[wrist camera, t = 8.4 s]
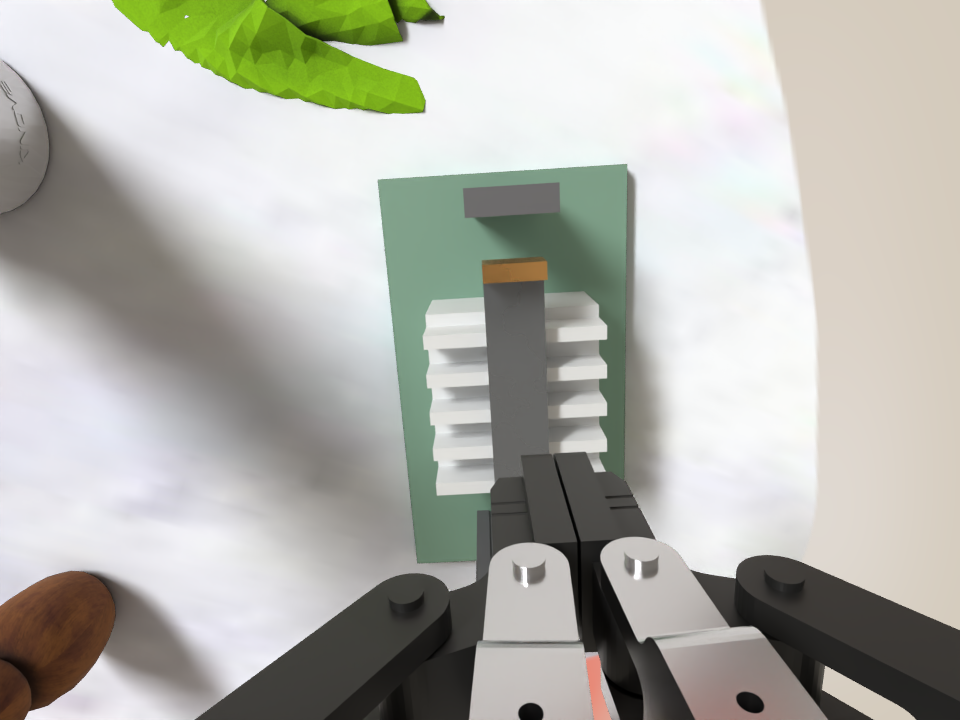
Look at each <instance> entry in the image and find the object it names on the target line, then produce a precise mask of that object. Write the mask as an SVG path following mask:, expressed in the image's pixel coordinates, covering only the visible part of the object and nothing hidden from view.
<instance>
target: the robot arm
mask: <svg viewBox="0 0 960 720" xmlns="http://www.w3.org/2000/svg"><path fill="white" fill-rule="evenodd" d="M48 160H49V139H48V132H47V126H46V123H45V120H44V117H43V114H42V111H41V109H40V106H39V105H38V103H37V101H36V99H35V98H34V96H33V94H32V92H31V90H30V89H29V88H28V87H27V85H26V84H25V83H24V82H23V80H22V79H21V78H20V77H19V75H18V74H17V73H16V72H15V71H13V70H12V69H11V68H10V67H9V66H8V65H7V64H5V63H4V62H3V61H2V60H0V214H1V213H4V212H8V211H11V210H13V209H15V208H17V207H18V206H20V205H22V204H24V203H25V202H26V201H27V200H28V199H29V198H30V197H31V196H32V195H33V194H34V193H35V192H36V191H37V189H38V187H39V186H40V184H41V182H42V180H43V179H44V176H45V172H46V169H47V165H48ZM520 474H521V477H505V478H498V480H497V481H496V483H495V484H494V485H493V487H492V488H491V489H490V496H491V518H492V541H493V558H492V560H491V562H490V565H489V571H488V572H487V573H486V575H485V576H483V577H482V578H481V579H480V580H478V581H477V582H475V583H473V584H471V585H469V586H466V587H463V588H460V589H457V590H454V591H450V592H449V591H448V589H447V587H446V586H445V584H444V583H443V582H442V581H440V580H439V579H437V578H435V577H433V576H430V575H426V574H417V573H415V574H403V575H399V576H395V577H393V578H390V579H388V580H386V581H384V582H382V583H380V584H379V585H377V586H376V587H375V588H373V589H372V590H371V591H369V592H368V593H366V594H365V595H364V596H362V597H361V598H360V599H358V600H357V601H356V602H354V603H353V604H352V605H350V606H349V607H347V608H346V609H345V610H343V611H342V612H341V613H339V614H338V615H337V616H335V617H334V618H332V619H331V620H330V621H328V622H327V623H326V624H324V625H323V626H322V627H320V628H319V629H318V630H316V631H315V632H313V633H312V634H311V635H309V636H308V637H307V638H305V639H304V640H303V641H301V642H300V643H298V644H297V645H296V646H294V647H293V648H292V649H290V650H289V651H288V652H286V653H285V654H284V655H282V656H281V657H279V658H278V659H277V660H275V661H274V662H273V663H271V664H270V665H269V666H267V667H266V668H265V669H263V670H262V671H260V672H259V673H258V674H256V675H255V676H254V677H252V678H251V679H250V680H248V681H247V682H245V683H244V684H243V685H241V686H240V687H239V688H237V689H236V690H235V691H233V692H232V693H231V694H229V695H228V696H226V697H225V698H224V699H222V700H221V701H220V702H218V703H217V704H216V705H214V706H213V707H211V708H210V709H209V710H207V711H206V712H205V713H203V714H202V715H201V716H199V717H198V718H197V719H195V720H594V718H593V710H592V703H591V696H590V688H589V682H588V674H587V667H586V659H585V652H598V654H599V658H600V661H601V689H602V693H603V696H604V699H605V702H606V705H607V708H608V711H609V714H610V717H611V719H612V720H873V719H871V718H870V717H868V716H866V715H864V714H863V713H861V712H859V711H858V710H856V709H854V708H852V707H851V706H849V705H847V704H845V703H844V702H842V701H840V700H838V699H837V698H835V697H833V696H832V695H830V694H828V693H826V692H825V691H823V690H822V684H823V677H824V669H825V666H827V667H829V668H831V669H833V670H835V671H837V672H838V673H840V674H842V675H844V676H846V677H847V678H849V679H851V680H853V681H855V682H857V683H859V684H861V685H862V686H864V687H866V688H868V689H870V690H871V691H873V692H875V693H877V694H879V695H881V696H882V697H884V698H886V699H888V700H890V701H892V702H894V703H895V704H897V705H899V706H900V707H902V708H904V709H905V710H906V711H908V712H909V713H910V714H911V715H912V716H914V717H915V719H916V720H960V630H958V629H955V628H952V627H951V626H948V625H946V624H943V623H941V622H939V621H937V620H934V619H932V618H930V617H927V616H925V615H923V614H920V613H918V612H916V611H913V610H911V609H909V608H906V607H904V606H902V605H899V604H897V603H895V602H893V601H890V600H888V599H886V598H883V597H881V596H878V595H876V594H874V593H871V592H869V591H867V590H865V589H862V588H860V587H858V586H855V585H853V584H850V583H848V582H846V581H843V580H841V579H839V578H837V577H834V576H832V575H830V574H827V573H825V572H823V571H820V570H818V569H815V568H813V567H811V566H809V565H806V564H804V563H802V562H799V561H796V560H793V559H790V558H786V557H781V556H773V555H761V556H754V557H750V558H748V559H745V560H744V561H742V562H741V563H740V564H739V565H738V567H737V571H736V579H734V578H728V577H721V576H715V575H709V574H704V573H699V572H696V571H692V570H690V569H689V568H688V566H687V565H686V563H685V562H684V561H683V559H682V558H681V556H680V555H679V554H678V553H677V552H676V551H675V550H674V549H673V548H671V547H670V546H668V545H667V544H664V543H662V542H660V541H657V540H656V539H655V537H654V535H653V533H652V531H651V529H650V527H649V525H648V523H647V521H646V519H645V518H644V516H643V514H642V512H641V510H640V508H638V504H637V502H636V500H635V498H634V497H633V494H632V493H631V491H630V489H629V487H628V485H627V483H626V482H625V481H624V480H623V479H621V478H620V477H618V476H617V475H615V474H614V473H613V472H611V471H608V472H594V470H593V467H592V465H591V463H590V460H589V458H588V456H587V453H586V452H569V453H554V454H553V456H552V454H536V455H520ZM579 639H580V640H579Z"/></svg>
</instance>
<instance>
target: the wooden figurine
mask: <svg viewBox="0 0 960 720" xmlns="http://www.w3.org/2000/svg"><path fill="white" fill-rule="evenodd" d="M114 620H115V605H114V602H113V599H112V596H111V594H110V592H109V590H108V589H107V588H106V586H105V585H104V584H103V583H102V582H101V581H100V580H98V579H97V578H96V577H94V576H92V575H90V574H88V573H85V572H81V571H69V572H64V573H59V574H56V575H53V576H49V577H47V578H45V579H43V580H41V581H39V582H37V583H35V584H33V585H32V586H30V587H28V588H27V589H25V590H23V591H22V592H20V593H19V594H17V595H15V596H14V597H12V598H11V599H9V600H8V601H6V602H5V603H4V604H2V605H1V606H0V720H24V719H25V717H26V715H27V713H28V711H32V710H35V709H39V708H42V707H45V706H48V705H49V704H51V703H52V702H53V701H55V700H56V699H57V698H59V697H60V696H62V695H63V694H65V693H67V692H68V691H70V690H71V689H73V688H74V687H75V686H76V685H77V684H78V683H79V682H80V681H81V680H82V679H83V678H84V677H85V676H86V674H87V673H88V672H89V670H90V669H91V668H92V667H93V665H94V664H95V663H96V661H97V659H98V658H99V656H100V654H101V653H102V651H103V649H104V647H105V645H106V643H107V641H108V639H109V637H110V634H111V632H112V629H113V626H114Z"/></svg>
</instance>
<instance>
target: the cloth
mask: <svg viewBox="0 0 960 720" xmlns="http://www.w3.org/2000/svg"><path fill="white" fill-rule="evenodd" d="M112 1H113V3H114V6H115V7H116V8H117V9H118V10H119V11H120V12H121V13H123V14H124V15H125V16H126V17H127V18H128V19H129V20H130V21H132V22H133V23H134V24H135V25H136V26H137V27H138V28H140V29H141V30H142V31H147V32H149V33H150V35H151V36H152V37H153V38H154V40H155V41H156V42H158V43H160V44H161V45H162V47H164V46H165V45H166V43H167V42H168V41H170V43H171V44H172V46H173V48H174V49H175V51H182V52H183V54H184V55H185V56H186V57H187V59H190V60H191V61H193V62H194V63H200V64H201V66H202V67H203V68H206V69H209V70H211V71H212V72H213V73H214V74H215V75H218V76H222V77H224V78H225V79H227V80H228V81H230V82H233V83H235V84H237V85H239V86H241V87H243V88H245V89H252V88H253V89H255V90H257V91H258V92H267V93H270V94H272V95H275V96H280V97H282V98H285V99H296V98H299V99H301V100H303V101H305V102H314V103H316V104H319V105H325V106H328V107H331V108H334V109H341V108H347V109H355V108H358V109H362V110H366V109H372V110H375V111H380V112H384V113H388V114H392V113H400V114H405V113H421V112H423V109H424V105H425V101H426V100H425V98H424V96H423V93H422V91H421V88H420V86H419V84H418V81H417V80H416V79H415V78H413V77H410V76H406V75H403V74H400V73H396V72H393V71H390V70H386V69H383V68H380V67H378V66H375V65H373V64H370V63H368V62H365V61H363V60H360V59H358V58H355V57H353V56H351V55H349V54H347V53H345V52H343V51H341V50H339V49H337V48H334V47H332V46H330V45H328V44H326V43H324V42H322V41H338V42H344V43H349V44H359V45H379V44H386V43H393V42H401V41H403V39H402V37H401V34H400V32H399V30H398V27H397V24H396V22H397V23H398V22H399V21H400V20H404V21H406V22H413V23H416V22H418V21H419V20H420V19H421V20H440V19H444V18H445V16H440V15H438V14H437V13H436V12H435V11H434V10H433V9H432V8H430V6H429V5H428V3H427V2H426V0H267V1H266V2H265V3H264V0H112ZM185 15H187V16H189V17H188V18H184V17H185Z"/></svg>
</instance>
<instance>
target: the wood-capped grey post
mask: <svg viewBox="0 0 960 720" xmlns="http://www.w3.org/2000/svg"><path fill="white" fill-rule="evenodd" d="M482 276H483V291H484V308H485V326H486V343H487V360H488V377H489V394H490V411H491V428H492V446H493V463H494V480H495V483H496V481H497V480H498V478H505V477H521V474H520V455H536V454H549V433H548V399H547V364H546V330H545V296H544V280H548V275H547V261H546V260H545V259H544V258H543V257H528V258H511V259H495V260H482Z"/></svg>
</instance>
